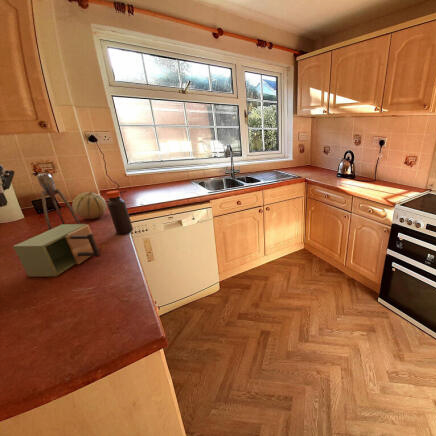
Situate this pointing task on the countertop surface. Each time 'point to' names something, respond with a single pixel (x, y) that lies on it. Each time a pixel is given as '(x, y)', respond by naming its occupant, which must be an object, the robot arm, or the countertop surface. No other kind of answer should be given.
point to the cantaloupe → (89, 205)
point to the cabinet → (48, 251)
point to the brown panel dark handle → (82, 245)
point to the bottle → (119, 213)
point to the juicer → (52, 196)
